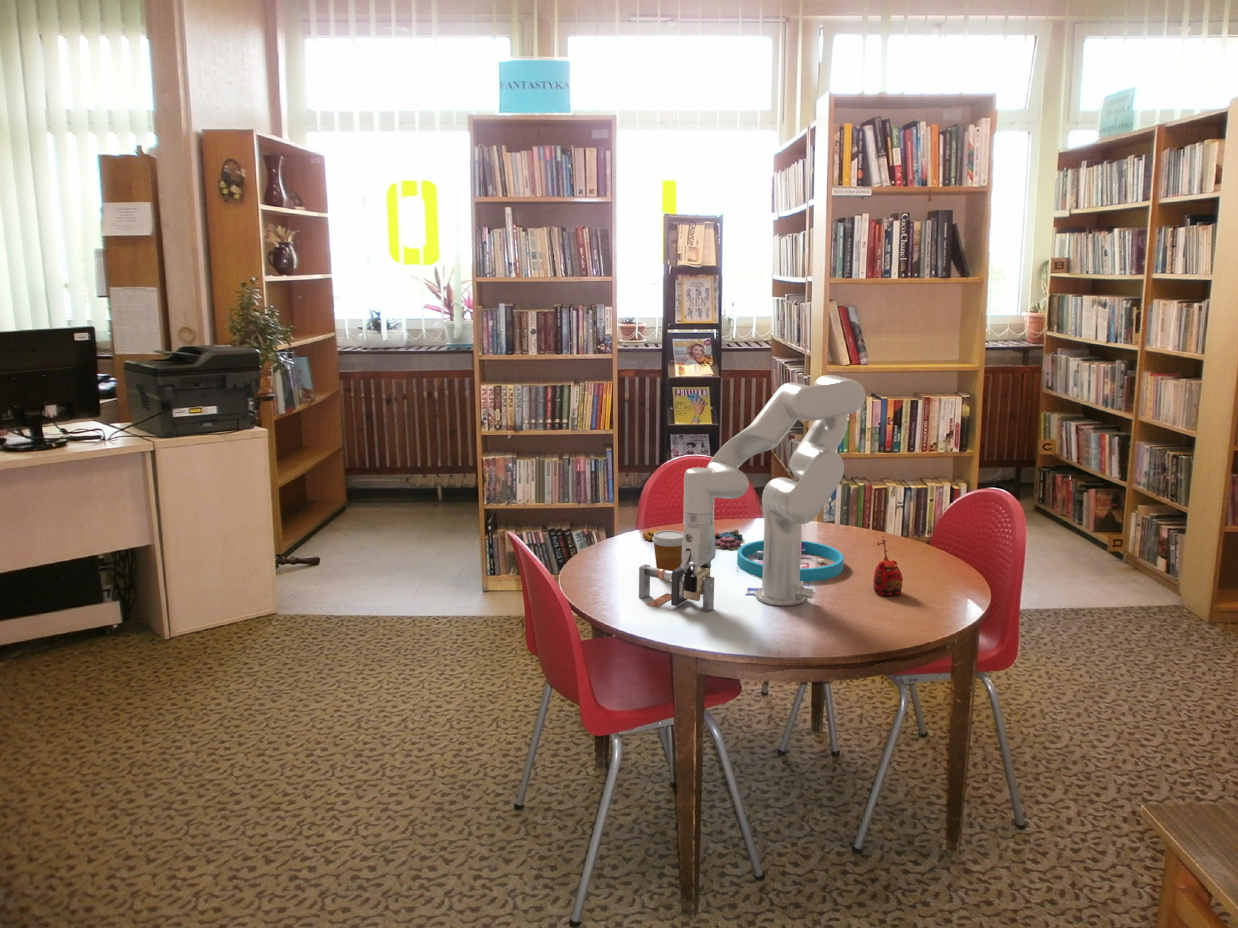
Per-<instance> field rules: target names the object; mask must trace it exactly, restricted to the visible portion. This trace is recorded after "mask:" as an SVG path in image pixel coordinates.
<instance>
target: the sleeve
mask: <svg viewBox="0 0 1238 928" xmlns="http://www.w3.org/2000/svg"><path fill="white" fill-rule="evenodd" d="M691 570H693V567H691ZM695 577H697V590H696V592H695V593H694V592H689V591H685V590H684V598H685V599H688V600H691V601H694V602H695V601H696V602H699V601H700V600H701V595H702V596H703V587H701V579H703V578H707V577H711V568H710V569H709V568H704V567H697V570H696V575H695Z"/></svg>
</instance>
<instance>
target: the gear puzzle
mask: <svg viewBox="0 0 1238 928" xmlns="http://www.w3.org/2000/svg"><path fill="white" fill-rule="evenodd" d="M658 531H660V530H658V529H657V530H656V529H651V530H648V531H647V532H644V533H642V538H643V539H647V541H653V540H652V538H653V536H654V533H656V532H658ZM681 532H682V533H683V532H684V531H681ZM742 540H743V534H741V533H740V532H739V530H738V529H736V528H735V529H732V531H725V532H721V533H719V532H716V531H715V547H716V550H724V549H729V550H730V551H738V549H739V548H740V547H741V546H742Z"/></svg>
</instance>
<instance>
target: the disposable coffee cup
mask: <svg viewBox="0 0 1238 928" xmlns="http://www.w3.org/2000/svg"><path fill="white" fill-rule="evenodd" d="M682 532H683V531H678V530H667V529H666V530H659V531H658V532H656V533H654V536H653V538H652V540H651V541H652V543H653V548H654V558H655V565H656V567H655V568H658V569H664V570H668V571H673V570H674V569H676V568H678V567H680V566H681V563H682V541H683V533H682Z"/></svg>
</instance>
